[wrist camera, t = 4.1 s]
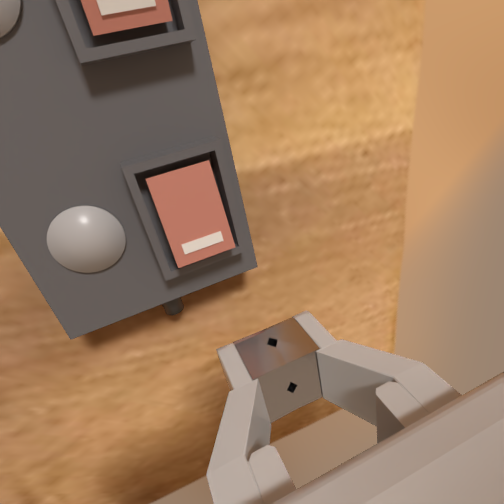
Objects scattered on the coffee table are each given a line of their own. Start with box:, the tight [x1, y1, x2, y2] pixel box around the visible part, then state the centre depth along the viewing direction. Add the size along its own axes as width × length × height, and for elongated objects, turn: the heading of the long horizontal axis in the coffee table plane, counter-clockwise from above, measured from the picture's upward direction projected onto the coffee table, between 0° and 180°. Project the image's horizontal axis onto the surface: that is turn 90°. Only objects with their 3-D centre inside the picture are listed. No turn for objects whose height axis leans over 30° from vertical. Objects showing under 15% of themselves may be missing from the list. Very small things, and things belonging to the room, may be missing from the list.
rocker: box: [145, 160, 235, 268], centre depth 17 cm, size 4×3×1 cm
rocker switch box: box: [0, 0, 257, 339], centre depth 16 cm, size 22×11×4 cm, turn 13°
